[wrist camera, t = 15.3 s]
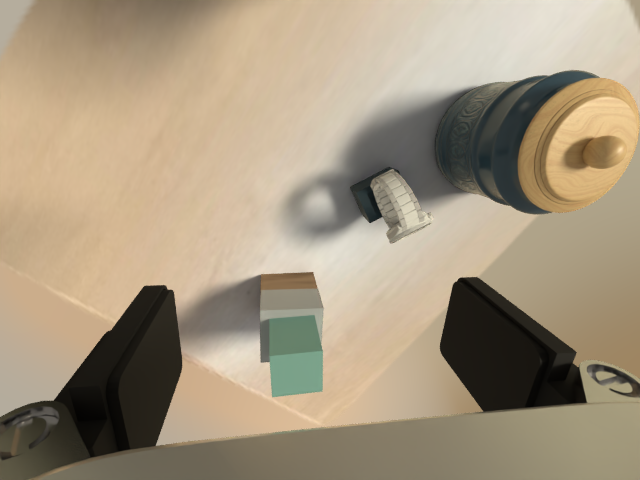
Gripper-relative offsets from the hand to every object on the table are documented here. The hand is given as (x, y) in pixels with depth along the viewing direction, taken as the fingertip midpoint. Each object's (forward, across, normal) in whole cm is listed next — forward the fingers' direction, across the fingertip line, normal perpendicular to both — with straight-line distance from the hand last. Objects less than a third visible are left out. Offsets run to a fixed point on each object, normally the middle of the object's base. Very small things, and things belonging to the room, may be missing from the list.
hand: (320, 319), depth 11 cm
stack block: (+22, -1, +17) cm, 27 cm away
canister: (+31, -25, -5) cm, 40 cm away
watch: (+31, -12, +2) cm, 33 cm away
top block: (+26, -1, +17) cm, 31 cm away
